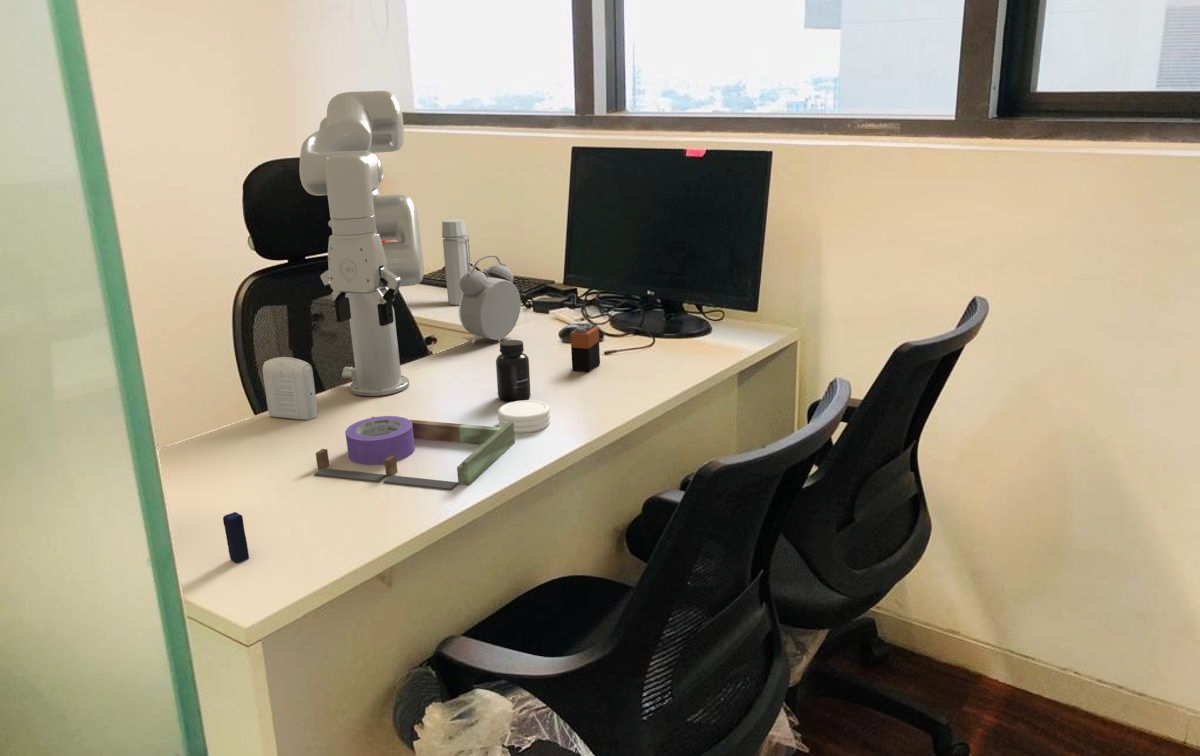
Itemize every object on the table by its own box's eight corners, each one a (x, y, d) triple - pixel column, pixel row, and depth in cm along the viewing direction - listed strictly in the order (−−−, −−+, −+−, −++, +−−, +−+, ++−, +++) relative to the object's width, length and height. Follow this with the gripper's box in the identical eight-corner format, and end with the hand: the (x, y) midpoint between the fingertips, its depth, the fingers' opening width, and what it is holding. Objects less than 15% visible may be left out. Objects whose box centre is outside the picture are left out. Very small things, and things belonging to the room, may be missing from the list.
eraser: (236, 564, 128) (228, 520, 126) (228, 559, 130) (221, 515, 128) (250, 558, 130) (243, 514, 128) (243, 553, 131) (236, 510, 129)
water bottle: (444, 306, 275) (436, 222, 267) (452, 300, 282) (445, 218, 275) (474, 306, 273) (467, 222, 266) (481, 300, 281) (475, 218, 273)
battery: (571, 371, 208) (569, 328, 205) (583, 362, 214) (581, 321, 211) (589, 373, 207) (587, 330, 204) (600, 364, 213) (599, 322, 210)
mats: (314, 475, 157) (314, 473, 157) (322, 469, 159) (322, 467, 159) (451, 490, 149) (451, 488, 149) (458, 483, 151) (458, 482, 151)
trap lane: (317, 469, 160) (314, 447, 158) (375, 430, 177) (373, 410, 176) (469, 485, 151) (467, 462, 150) (514, 442, 168) (513, 422, 167)
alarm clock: (501, 331, 245) (495, 249, 238) (526, 335, 240) (521, 251, 233) (458, 346, 232) (450, 260, 225) (483, 350, 227) (476, 262, 220)
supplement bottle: (525, 403, 188) (522, 347, 185) (494, 402, 190) (489, 346, 186) (534, 392, 195) (531, 338, 191) (503, 392, 196) (500, 337, 192)
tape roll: (382, 470, 158) (378, 443, 157) (334, 458, 164) (330, 432, 163) (428, 447, 168) (425, 421, 166) (381, 436, 174) (379, 411, 172)
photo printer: (321, 414, 187) (313, 356, 183) (309, 421, 183) (301, 362, 179) (278, 410, 190) (270, 353, 186) (265, 418, 186) (256, 359, 182)
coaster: (492, 421, 180) (490, 404, 179) (540, 412, 183) (539, 396, 182) (508, 438, 171) (506, 420, 170) (558, 428, 175) (557, 411, 174)
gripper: (301, 228, 161) (313, 323, 166) (379, 231, 154) (390, 330, 159) (330, 223, 168) (342, 314, 173) (407, 225, 160) (416, 321, 165)
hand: (365, 322), depth 166 cm, fingers open, 9 cm apart
